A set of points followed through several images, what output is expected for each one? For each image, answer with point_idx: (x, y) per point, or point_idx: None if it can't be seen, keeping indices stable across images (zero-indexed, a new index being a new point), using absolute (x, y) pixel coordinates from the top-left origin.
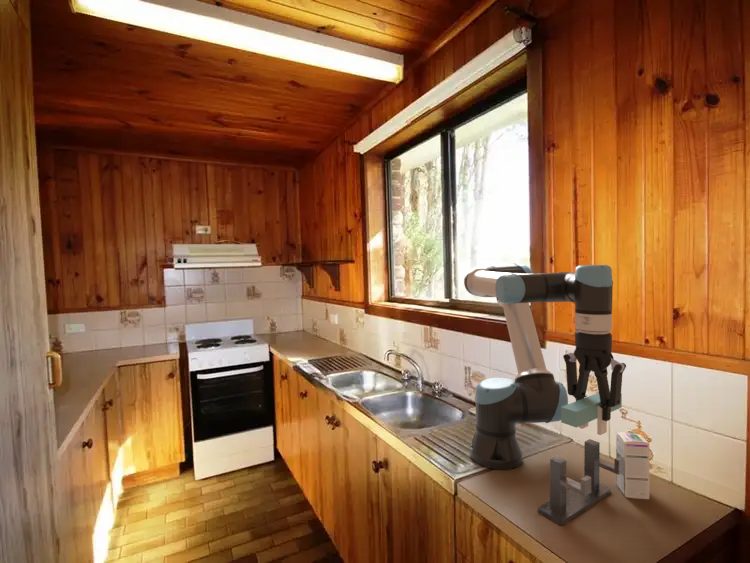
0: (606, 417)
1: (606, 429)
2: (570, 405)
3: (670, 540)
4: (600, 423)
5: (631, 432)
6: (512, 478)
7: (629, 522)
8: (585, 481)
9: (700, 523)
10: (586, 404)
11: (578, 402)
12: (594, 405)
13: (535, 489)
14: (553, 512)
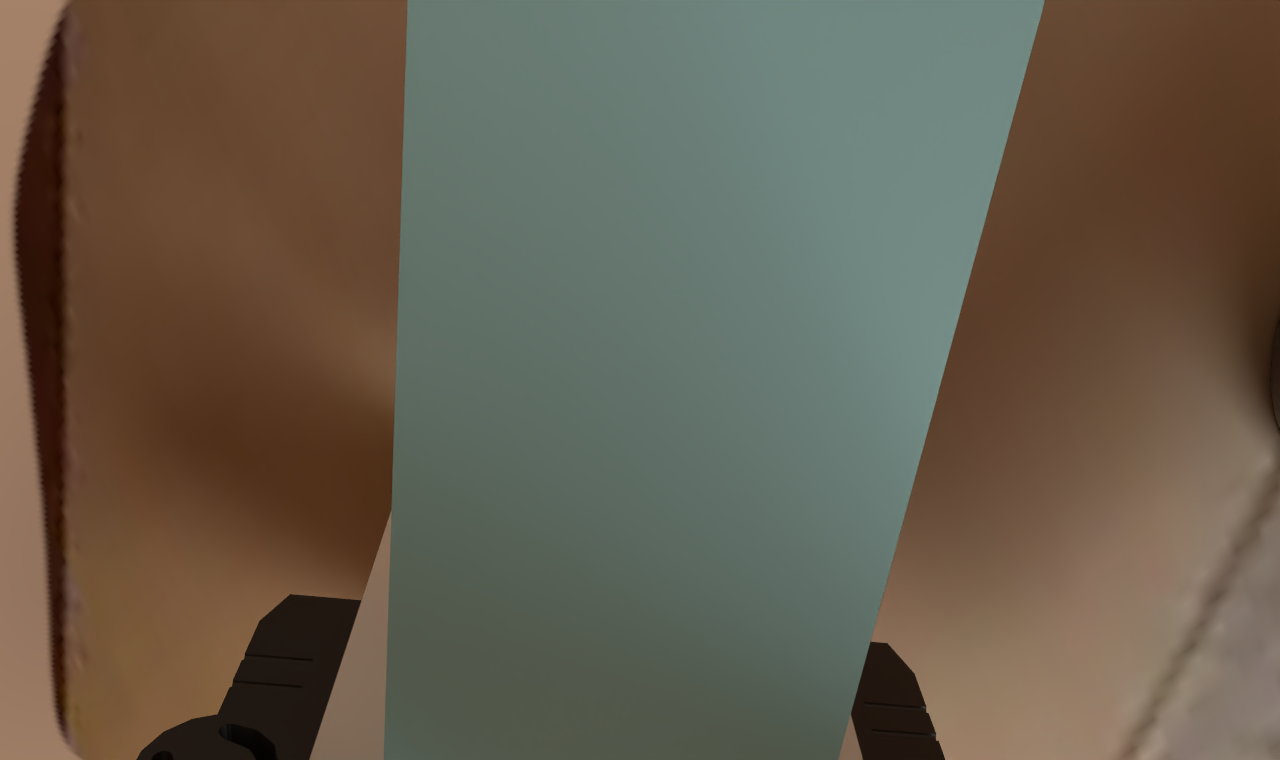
0: (269, 644)
1: None
2: (892, 116)
3: (123, 212)
4: (389, 517)
5: None
6: (1264, 114)
7: (371, 214)
8: None
9: (103, 522)
10: (537, 572)
11: (787, 576)
12: (393, 699)
13: (1044, 104)
14: None
